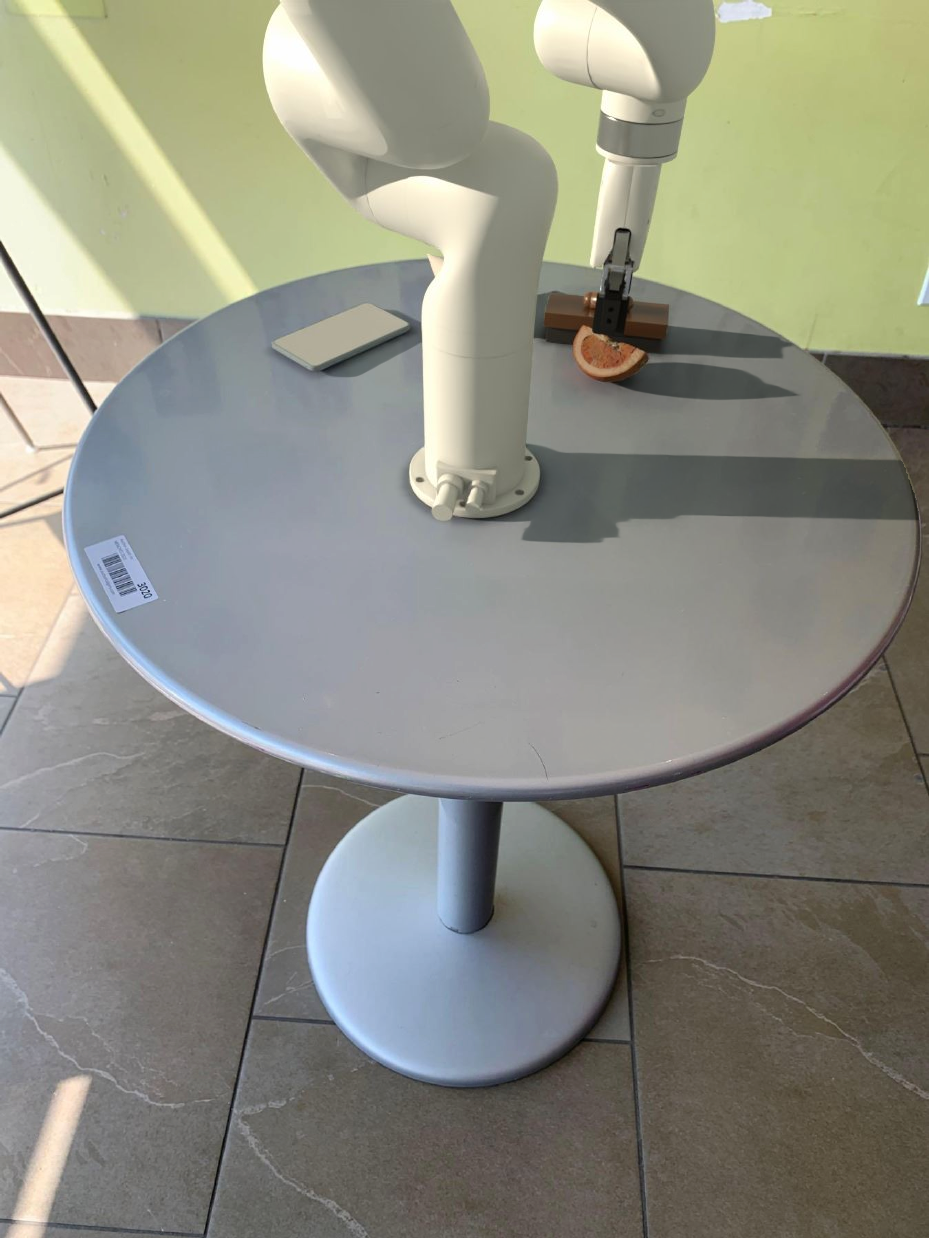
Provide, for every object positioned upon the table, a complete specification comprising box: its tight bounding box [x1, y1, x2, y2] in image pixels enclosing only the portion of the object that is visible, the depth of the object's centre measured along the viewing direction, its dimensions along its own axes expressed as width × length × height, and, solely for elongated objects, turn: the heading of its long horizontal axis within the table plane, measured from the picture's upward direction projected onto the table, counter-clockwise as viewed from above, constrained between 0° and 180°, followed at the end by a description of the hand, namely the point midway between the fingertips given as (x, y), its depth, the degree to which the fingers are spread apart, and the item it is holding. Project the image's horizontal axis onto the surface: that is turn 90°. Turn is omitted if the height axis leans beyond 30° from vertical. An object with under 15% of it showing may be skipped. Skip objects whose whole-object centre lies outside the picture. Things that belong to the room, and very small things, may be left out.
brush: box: [543, 291, 670, 354], centre depth 105 cm, size 5×14×6 cm, turn 79°
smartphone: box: [271, 302, 411, 373], centre depth 106 cm, size 8×1×15 cm
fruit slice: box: [572, 325, 650, 383], centre depth 99 cm, size 8×7×5 cm
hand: (611, 312), depth 95 cm, fingers open, 9 cm apart
